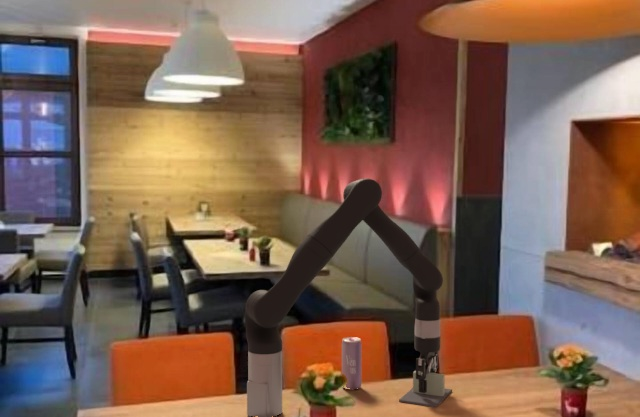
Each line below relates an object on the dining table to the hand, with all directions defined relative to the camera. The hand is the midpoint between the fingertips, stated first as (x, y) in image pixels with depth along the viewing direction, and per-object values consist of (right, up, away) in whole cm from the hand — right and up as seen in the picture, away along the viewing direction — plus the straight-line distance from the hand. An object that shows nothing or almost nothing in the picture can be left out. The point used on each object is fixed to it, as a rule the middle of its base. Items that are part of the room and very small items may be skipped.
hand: (427, 388), depth 197 cm
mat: (0, -2, -1) cm, 2 cm away
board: (0, -2, 0) cm, 2 cm away
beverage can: (-22, -2, +8) cm, 23 cm away
